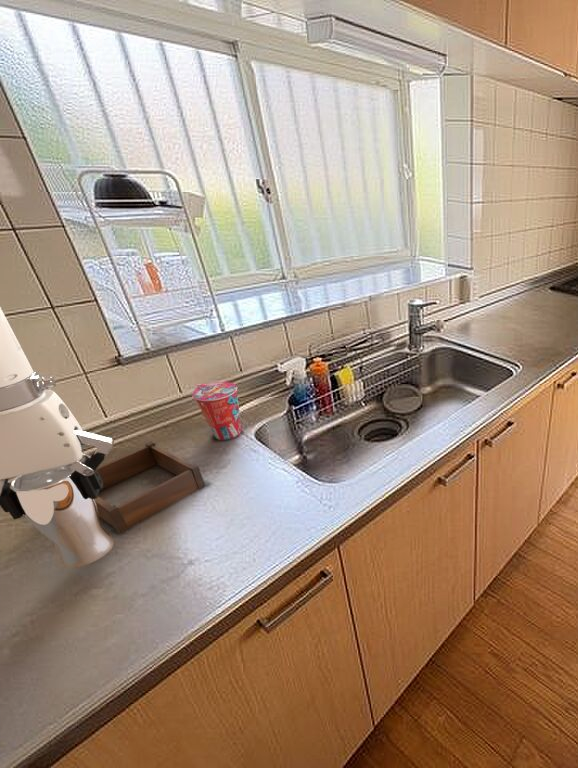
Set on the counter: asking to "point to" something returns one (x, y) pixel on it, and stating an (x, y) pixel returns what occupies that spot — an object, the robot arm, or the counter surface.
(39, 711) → the counter surface
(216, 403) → the cup
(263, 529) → the counter surface
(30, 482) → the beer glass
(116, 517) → the tray
